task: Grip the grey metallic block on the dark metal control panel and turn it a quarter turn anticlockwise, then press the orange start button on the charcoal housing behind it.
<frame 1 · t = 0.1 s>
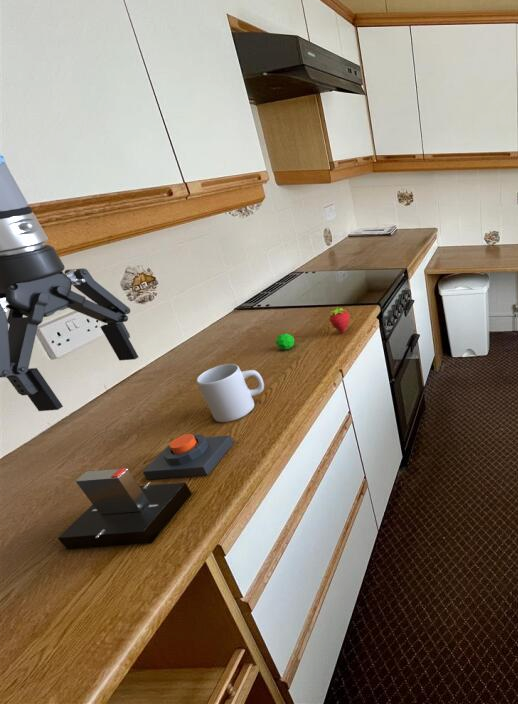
hand: (94, 381, 64), 26 cm above the counter, tool pointing down, fingers open, 13 cm apart
polyhedron: (287, 348, 127), on the counter
grey metallic block: (113, 491, 69), point 7 cm above the counter, hinge at 0.0°
strawberry: (344, 333, 134), on the counter
mug: (243, 409, 100), on the counter
start button: (183, 444, 82), point 4 cm above the counter, slide at 0.1 cm
button box: (192, 460, 84), on the counter
panel: (133, 520, 72), on the counter
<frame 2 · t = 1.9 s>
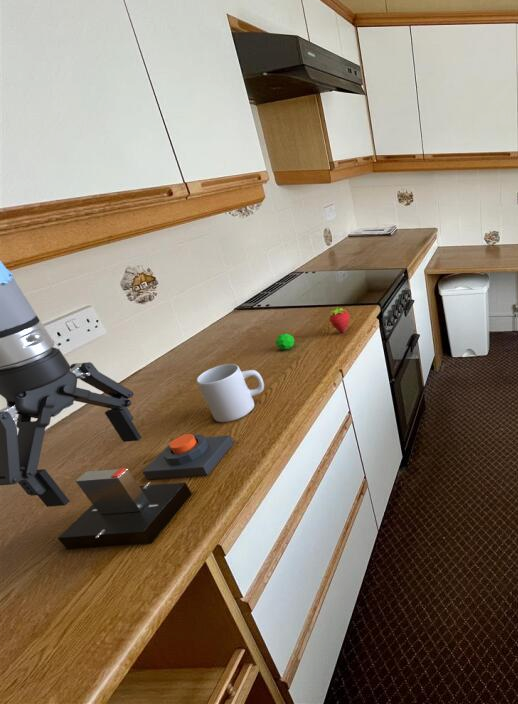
hand: (99, 469, 66), 12 cm above the counter, tool pointing down, fingers open, 13 cm apart
nothing on the counter moved.
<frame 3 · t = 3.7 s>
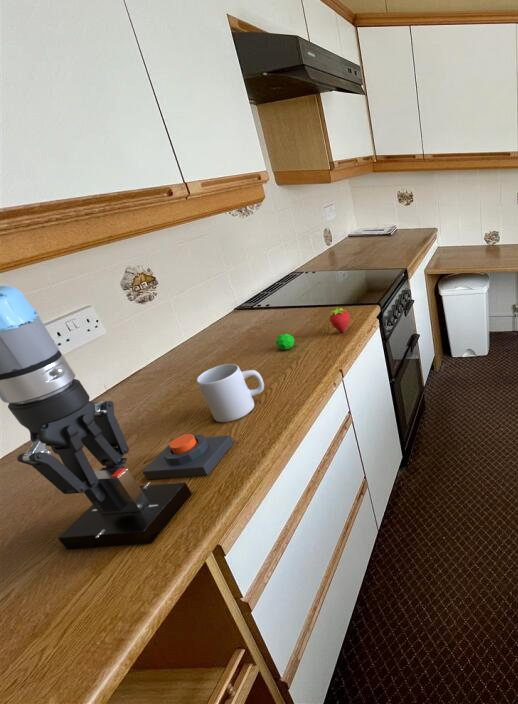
hand: (121, 502, 70), 4 cm above the counter, tool pointing down, fingers closed on grey metallic block, 2 cm apart
grey metallic block: (113, 491, 69), point 7 cm above the counter, hinge at 0.0°, touching gripper
everything else where it was.
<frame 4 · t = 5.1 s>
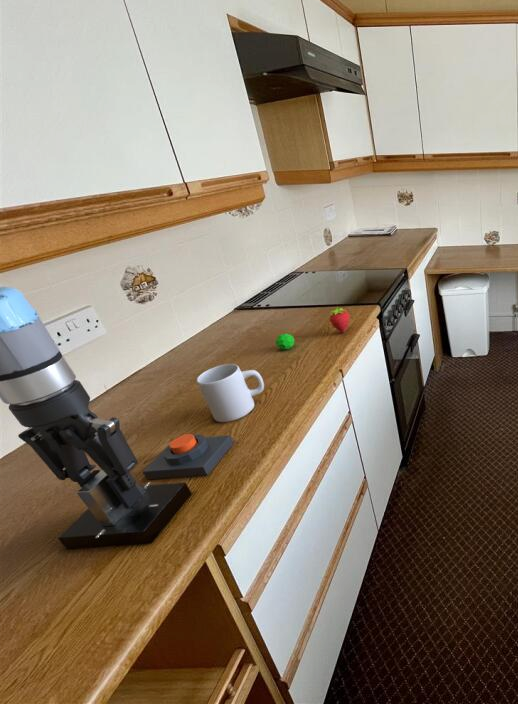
hand: (121, 502, 70), 4 cm above the counter, tool pointing down, fingers open, 4 cm apart
grey metallic block: (113, 491, 69), point 7 cm above the counter, hinge at 90.0°
everything else where it was.
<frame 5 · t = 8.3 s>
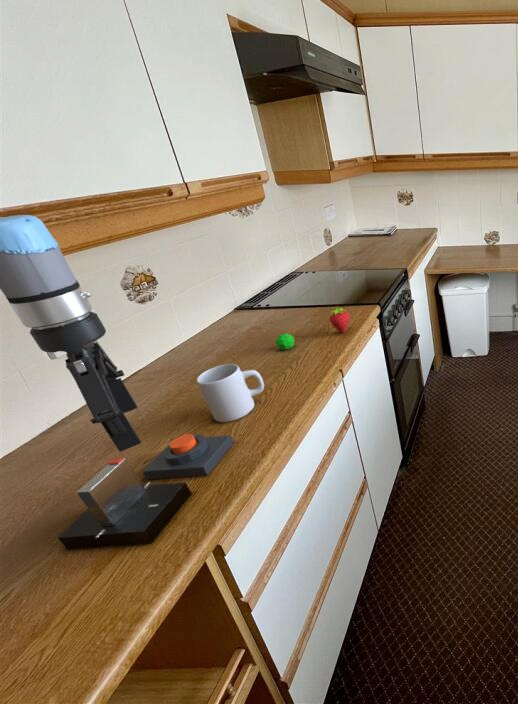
hand: (129, 427, 72), 15 cm above the counter, tool pointing down, fingers open, 13 cm apart
nothing on the counter moved.
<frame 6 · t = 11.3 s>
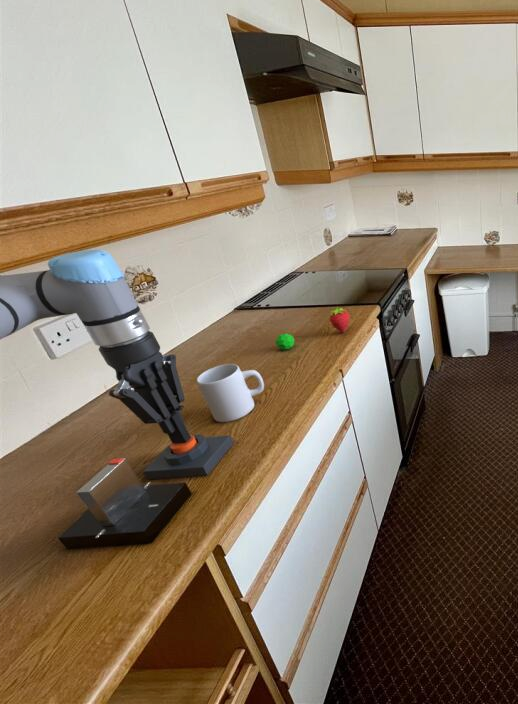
hand: (182, 440, 82), 5 cm above the counter, tool pointing down, fingers closed
start button: (183, 444, 82), point 4 cm above the counter, slide at -0.1 cm, touching gripper
everything else where it was.
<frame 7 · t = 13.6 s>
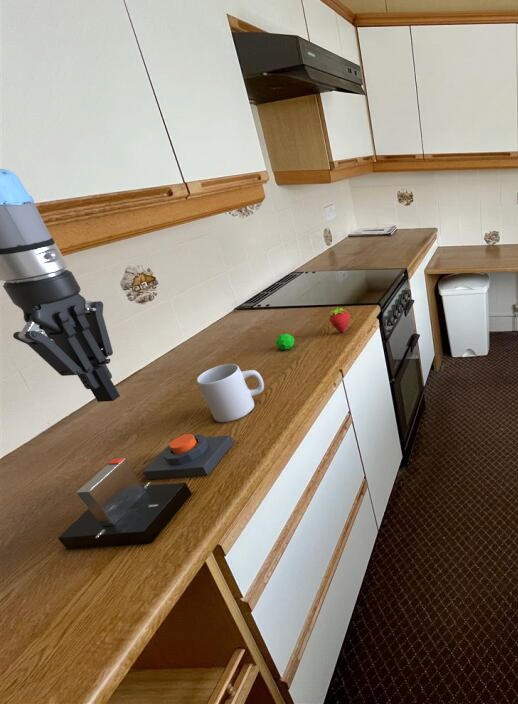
hand: (109, 398, 73), 19 cm above the counter, tool pointing down, fingers closed
start button: (183, 444, 82), point 4 cm above the counter, slide at 0.1 cm
everything else where it was.
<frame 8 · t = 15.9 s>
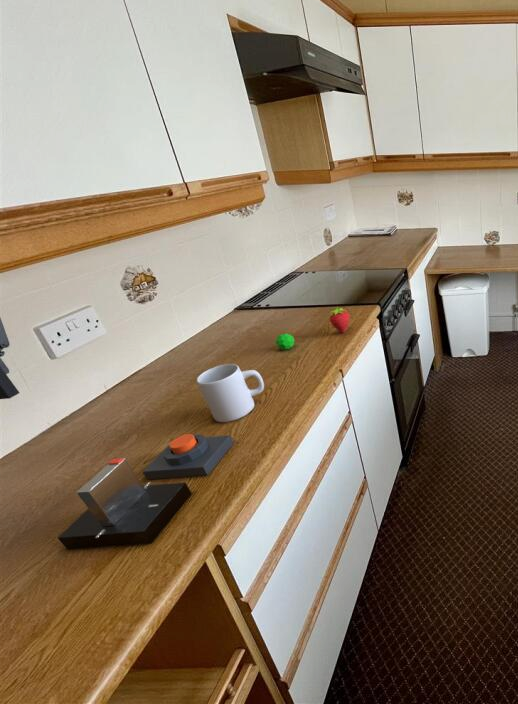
hand: (6, 396, 66), 24 cm above the counter, tool pointing down, fingers closed
nothing on the counter moved.
at the end: grey metallic block at +90° (first picture: +0°); start button pushed in 1.0 cm at the most during the clip, back to where it started at the end; start button slide at 0.1 cm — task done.
